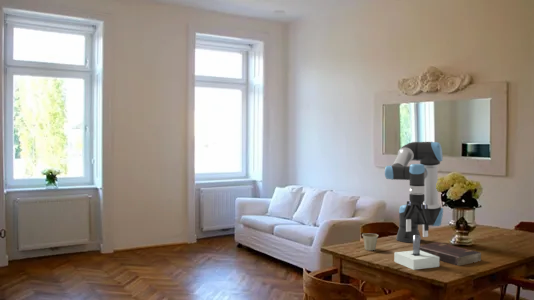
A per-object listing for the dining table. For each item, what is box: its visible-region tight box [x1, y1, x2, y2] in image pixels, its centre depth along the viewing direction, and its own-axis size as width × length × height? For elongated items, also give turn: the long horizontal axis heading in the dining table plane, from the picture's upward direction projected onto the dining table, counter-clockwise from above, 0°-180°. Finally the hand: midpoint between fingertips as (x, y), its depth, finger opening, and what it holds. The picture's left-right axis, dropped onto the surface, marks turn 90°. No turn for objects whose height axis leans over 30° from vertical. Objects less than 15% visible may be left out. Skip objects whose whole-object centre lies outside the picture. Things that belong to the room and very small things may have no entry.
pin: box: [412, 234, 421, 256], centre depth 244 cm, size 3×3×14 cm
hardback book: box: [420, 241, 482, 267], centre depth 259 cm, size 29×19×5 cm, turn 30°
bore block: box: [393, 250, 440, 271], centre depth 244 cm, size 16×16×5 cm
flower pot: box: [361, 232, 379, 251], centre depth 276 cm, size 9×9×9 cm
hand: (416, 234), depth 244 cm, fingers open, 13 cm apart
